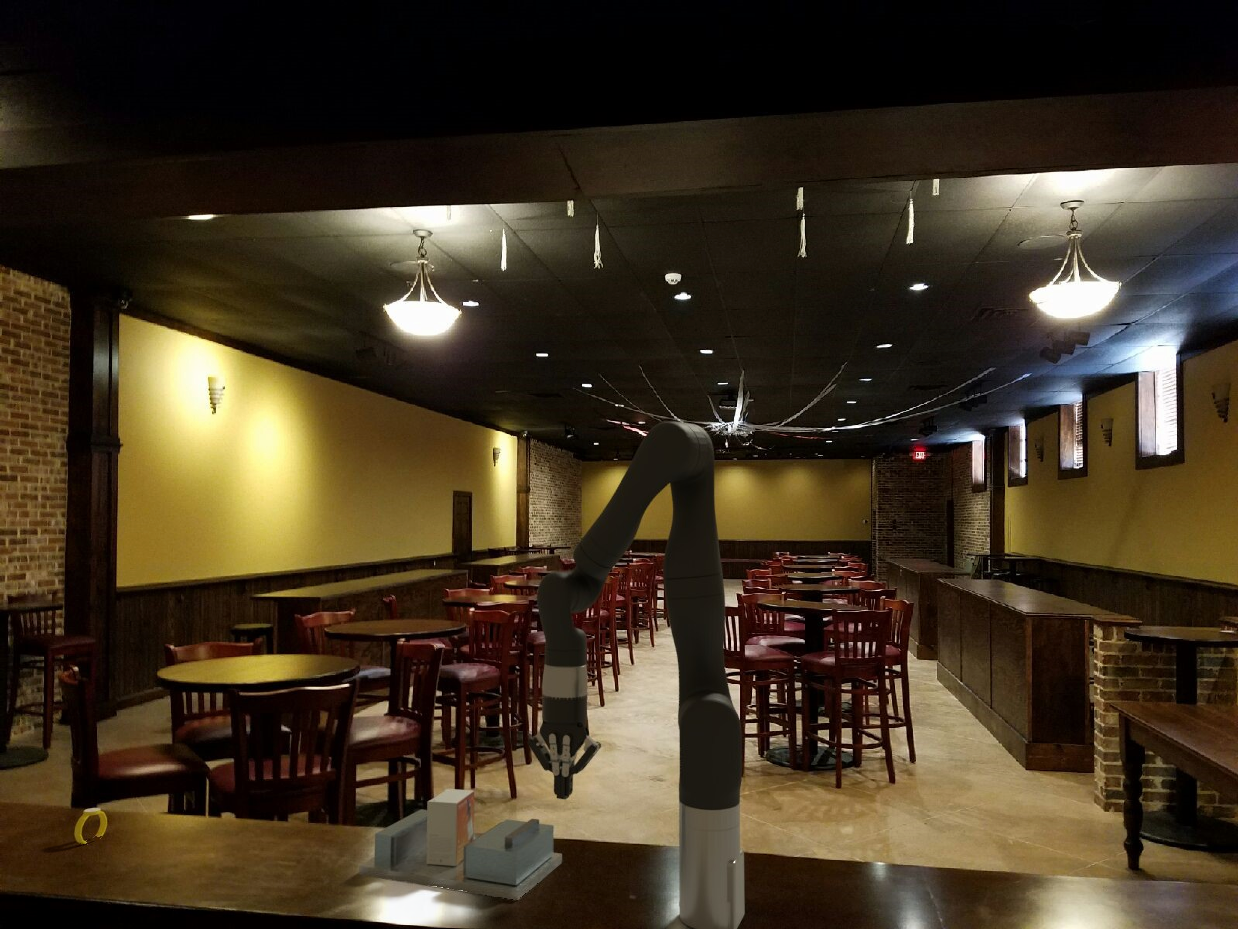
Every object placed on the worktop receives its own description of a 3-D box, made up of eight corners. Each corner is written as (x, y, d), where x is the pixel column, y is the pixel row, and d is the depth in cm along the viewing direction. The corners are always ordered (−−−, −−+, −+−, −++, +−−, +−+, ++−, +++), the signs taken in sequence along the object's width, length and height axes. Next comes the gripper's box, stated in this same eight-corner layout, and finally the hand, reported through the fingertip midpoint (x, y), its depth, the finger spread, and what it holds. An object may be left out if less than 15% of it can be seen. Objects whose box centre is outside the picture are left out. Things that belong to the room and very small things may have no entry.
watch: (97, 838, 167) (100, 805, 168) (108, 839, 166) (112, 806, 167) (69, 846, 161) (73, 812, 162) (81, 848, 161) (85, 814, 162)
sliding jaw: (553, 855, 153) (553, 817, 153) (516, 885, 140) (516, 843, 140) (502, 847, 156) (502, 810, 157) (461, 876, 143) (462, 836, 144)
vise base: (562, 862, 154) (562, 824, 154) (517, 901, 138) (517, 858, 138) (415, 841, 164) (416, 805, 165) (358, 874, 148) (359, 835, 149)
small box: (456, 867, 148) (457, 803, 148) (425, 864, 149) (426, 801, 150) (474, 850, 155) (475, 790, 156) (445, 848, 157) (446, 787, 157)
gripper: (610, 691, 148) (608, 796, 146) (538, 685, 152) (536, 787, 151) (593, 698, 141) (591, 809, 139) (519, 692, 145) (516, 799, 144)
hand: (562, 797), depth 145 cm, fingers closed
